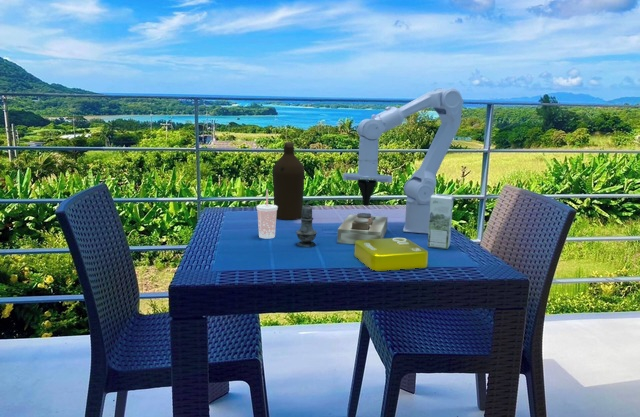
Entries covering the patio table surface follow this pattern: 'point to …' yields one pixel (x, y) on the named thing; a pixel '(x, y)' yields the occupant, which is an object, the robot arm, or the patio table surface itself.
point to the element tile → (390, 254)
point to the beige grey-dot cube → (365, 216)
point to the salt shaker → (306, 228)
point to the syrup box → (440, 221)
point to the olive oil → (288, 185)
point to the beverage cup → (267, 219)
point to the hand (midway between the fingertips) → (366, 205)
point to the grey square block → (352, 235)
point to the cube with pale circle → (360, 224)
